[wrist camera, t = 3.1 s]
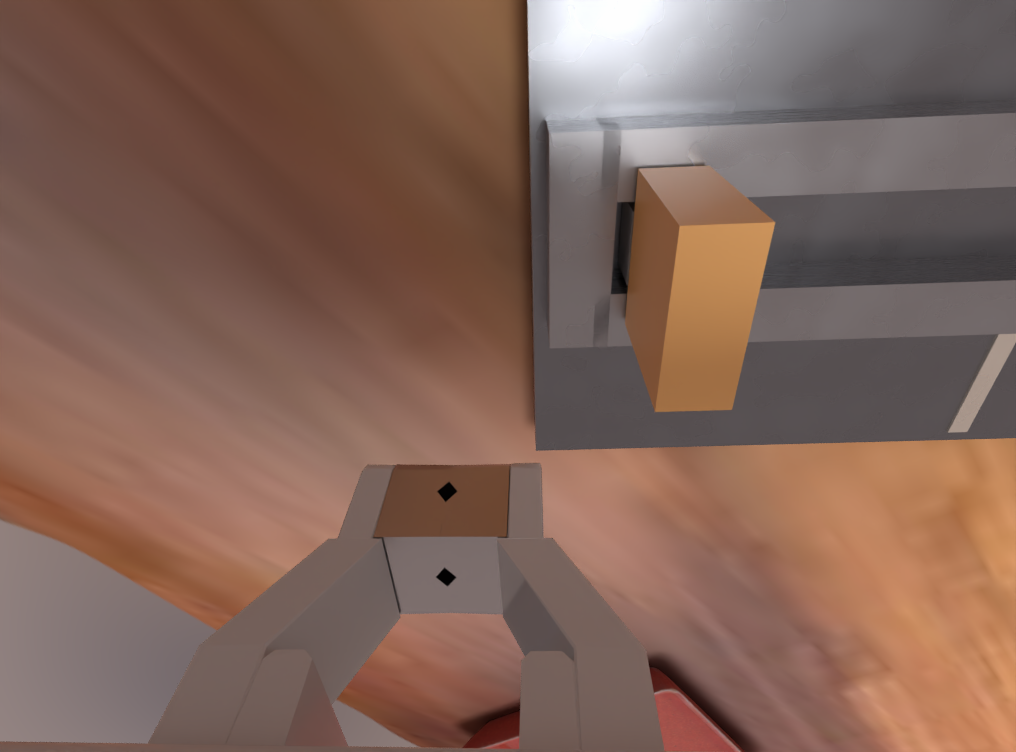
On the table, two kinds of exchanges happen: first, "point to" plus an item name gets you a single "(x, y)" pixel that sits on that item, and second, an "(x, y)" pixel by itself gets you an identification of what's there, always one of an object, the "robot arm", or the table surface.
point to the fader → (691, 283)
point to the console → (784, 211)
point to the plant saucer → (679, 717)
